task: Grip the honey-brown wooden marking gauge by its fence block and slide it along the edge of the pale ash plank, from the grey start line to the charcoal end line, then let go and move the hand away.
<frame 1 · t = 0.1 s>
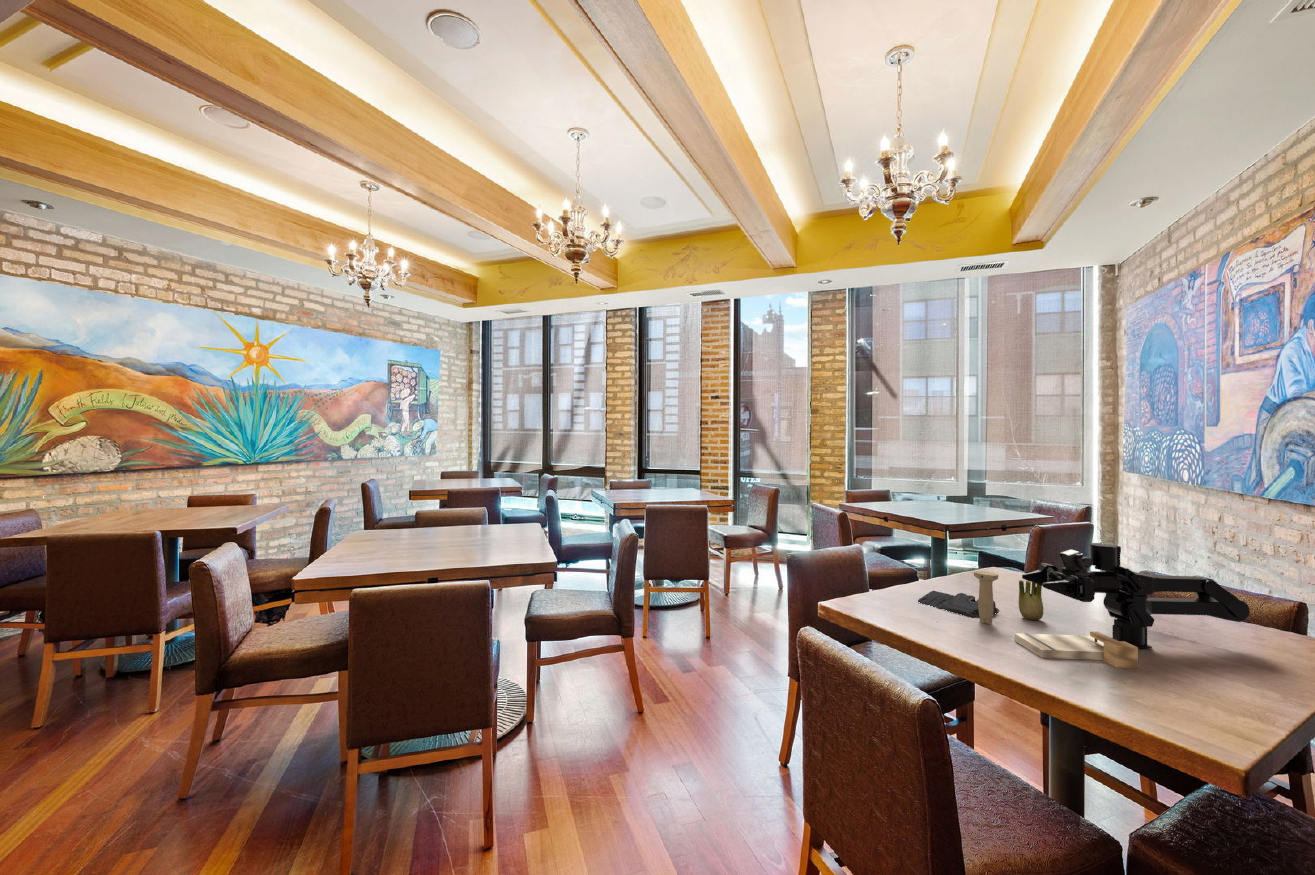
hand: (1032, 580, 149), 17 cm above the table, tool horizontal, fingers open, 9 cm apart
fennel bulb: (1031, 619, 168), on the table
handle: (985, 623, 164), on the table
dark slate chunk: (957, 609, 181), on the table
marking gauge: (1120, 664, 134), on the table
ash plank: (1067, 650, 143), on the table
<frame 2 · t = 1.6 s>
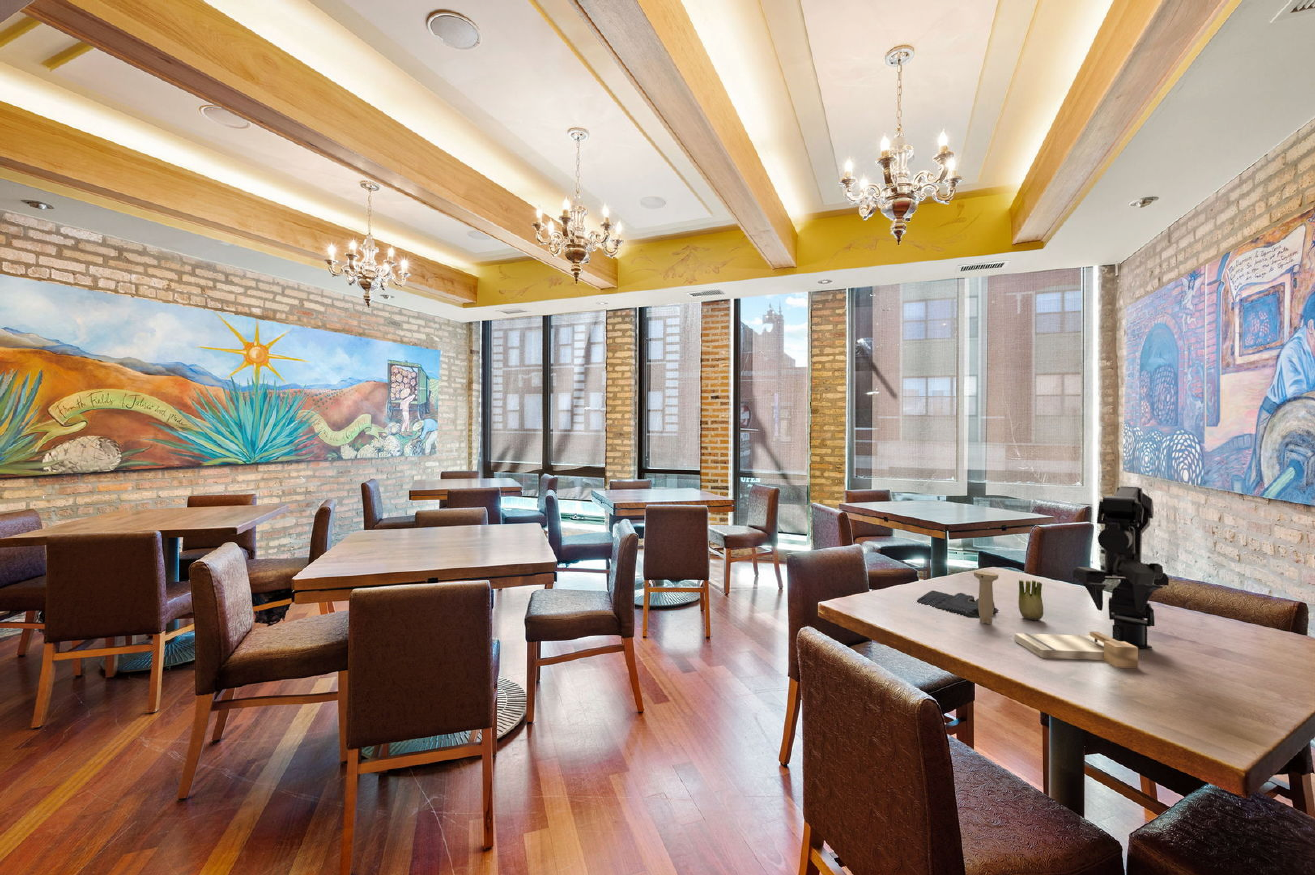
hand: (1119, 611, 134), 13 cm above the table, tool pointing down, fingers open, 9 cm apart
nothing on the table moved.
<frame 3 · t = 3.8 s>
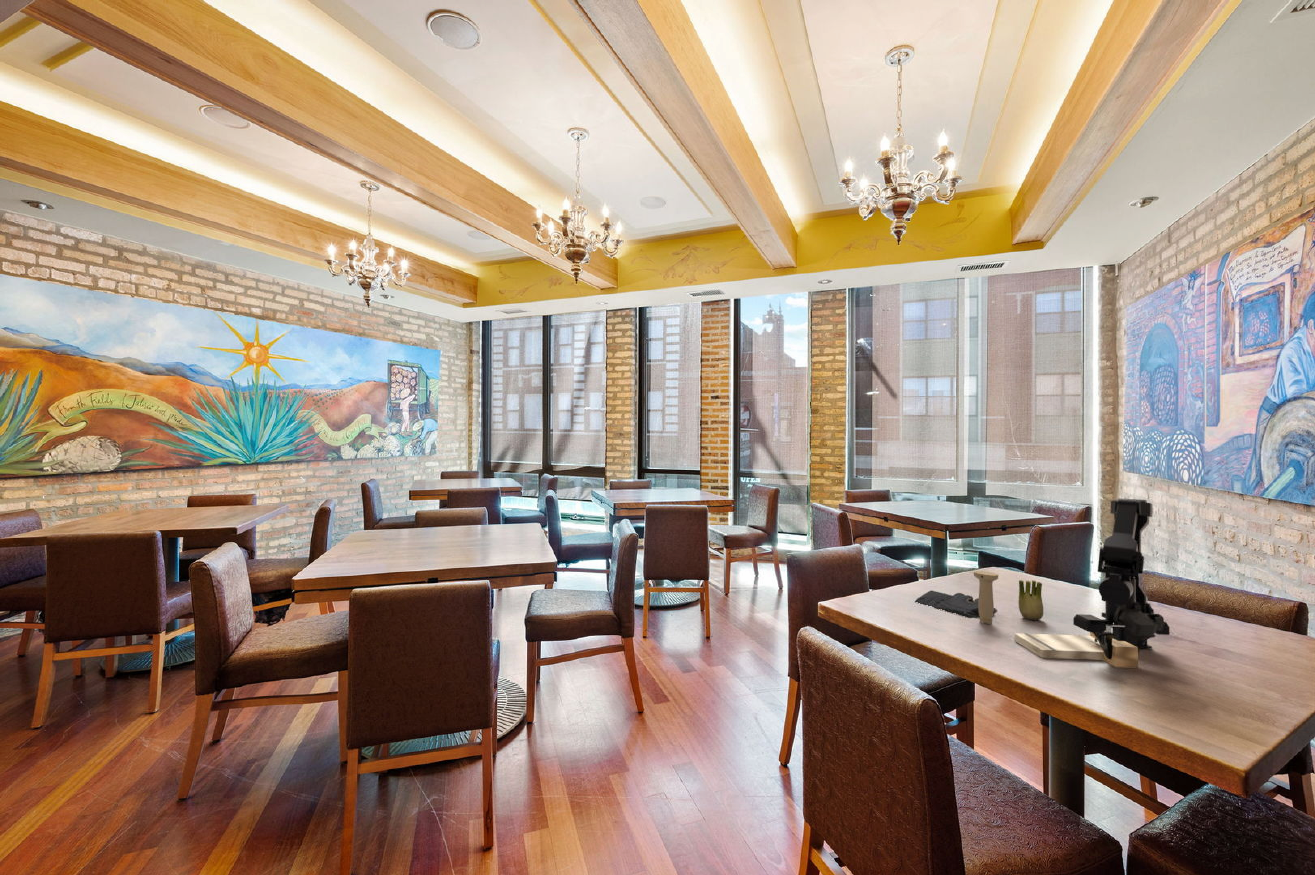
hand: (1120, 659, 134), 1 cm above the table, tool pointing down, fingers closed on marking gauge, 5 cm apart
marking gauge: (1120, 664, 134), on the table, touching gripper
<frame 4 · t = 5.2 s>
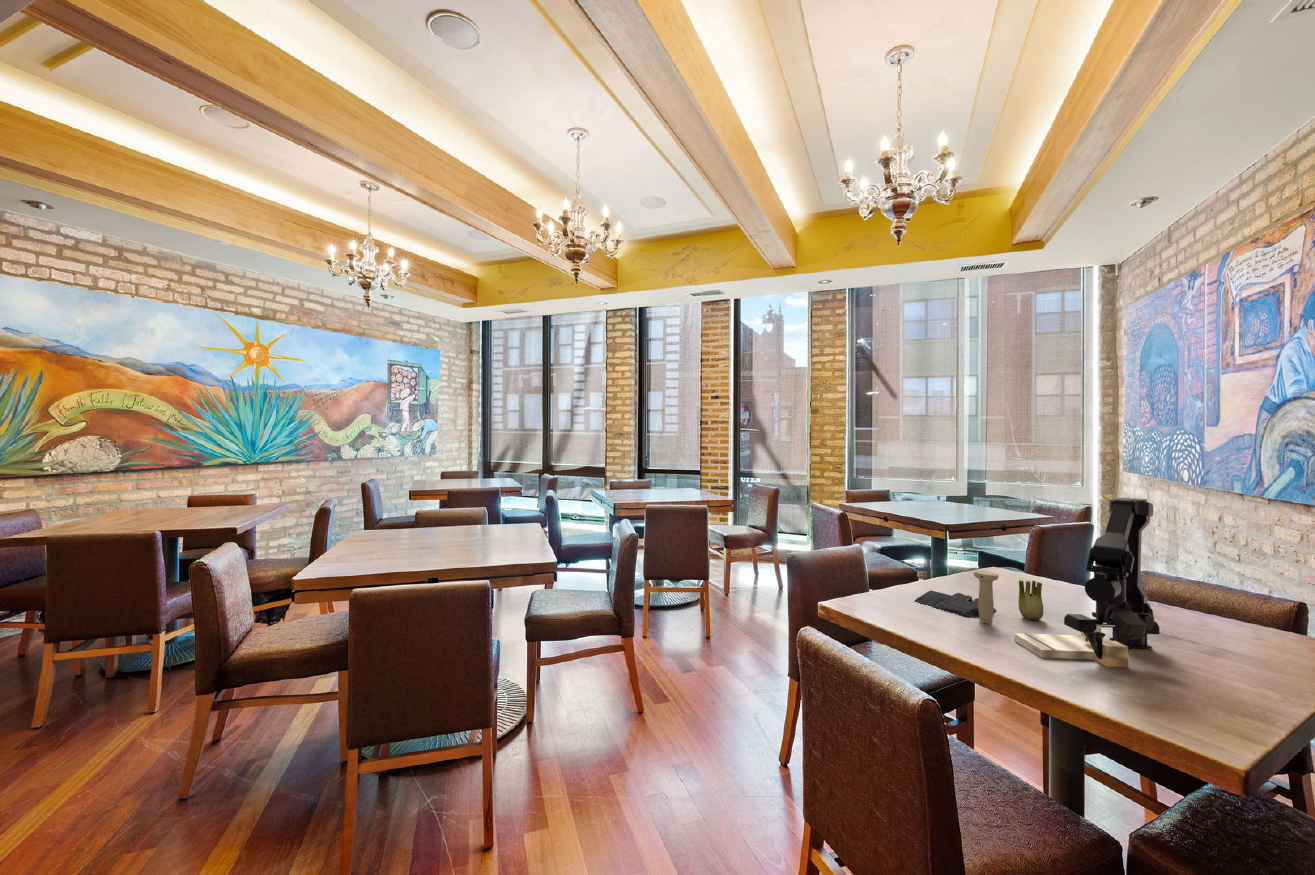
hand: (1110, 658, 134), 1 cm above the table, tool pointing down, fingers closed on marking gauge, 5 cm apart
marking gauge: (1110, 663, 134), on the table, touching gripper
everything else where it was.
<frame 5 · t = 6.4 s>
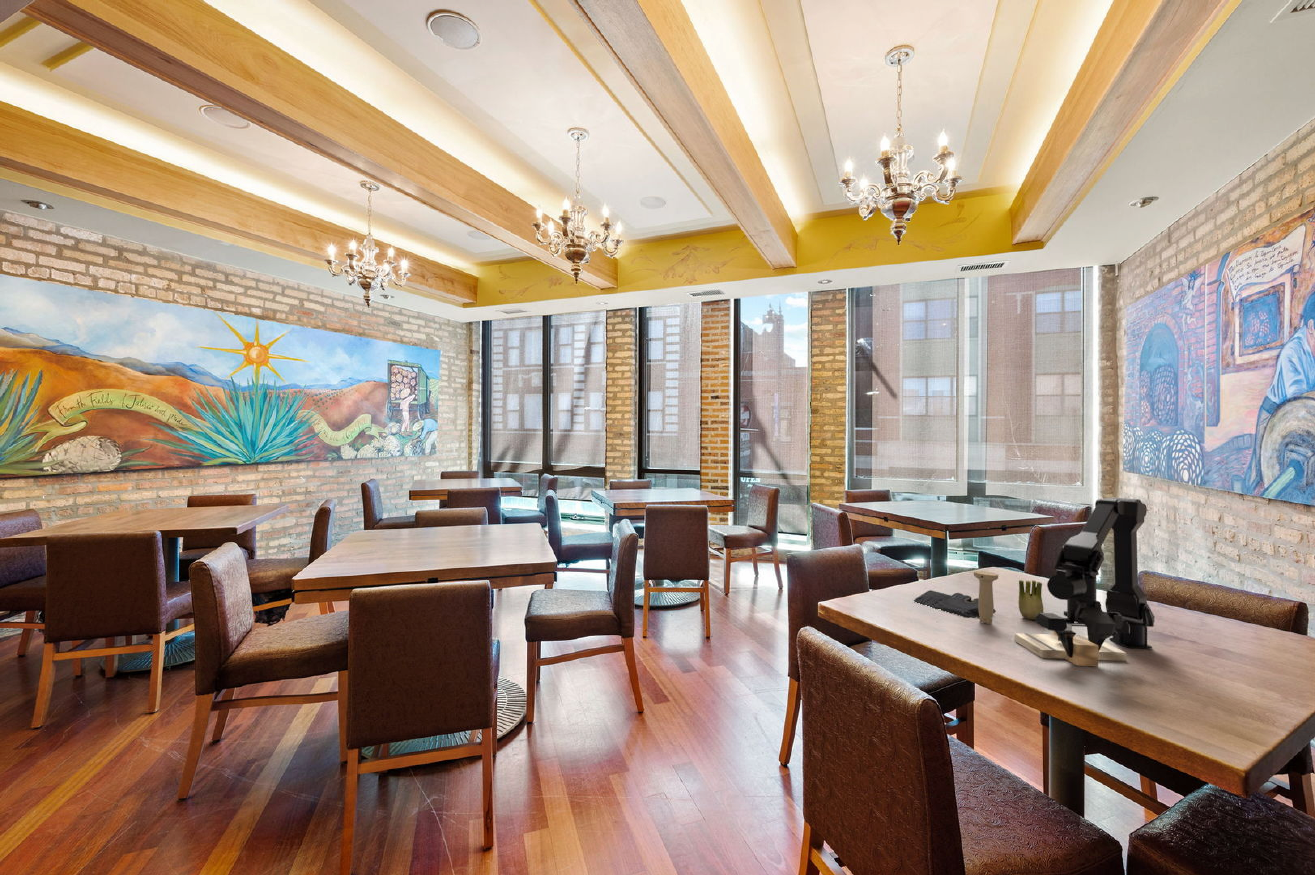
hand: (1081, 657, 134), 1 cm above the table, tool pointing down, fingers closed on marking gauge, 5 cm apart
marking gauge: (1081, 662, 134), on the table, touching gripper
when the fingers open (1 cm above the table, at t = 8.8 s): marking gauge stays where it is, on the table.
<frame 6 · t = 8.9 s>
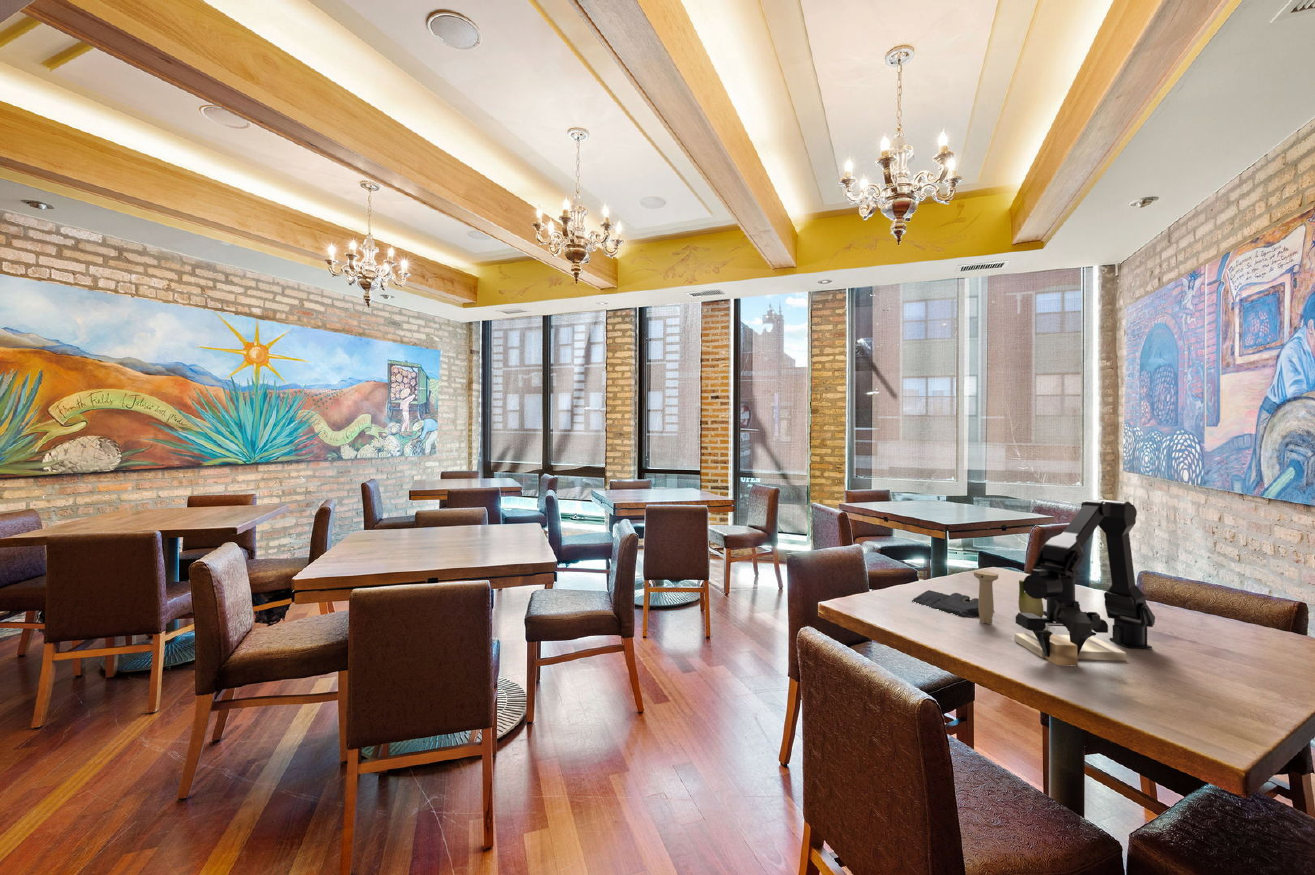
hand: (1060, 657, 135), 1 cm above the table, tool pointing down, fingers open, 6 cm apart
marking gauge: (1061, 662, 135), on the table
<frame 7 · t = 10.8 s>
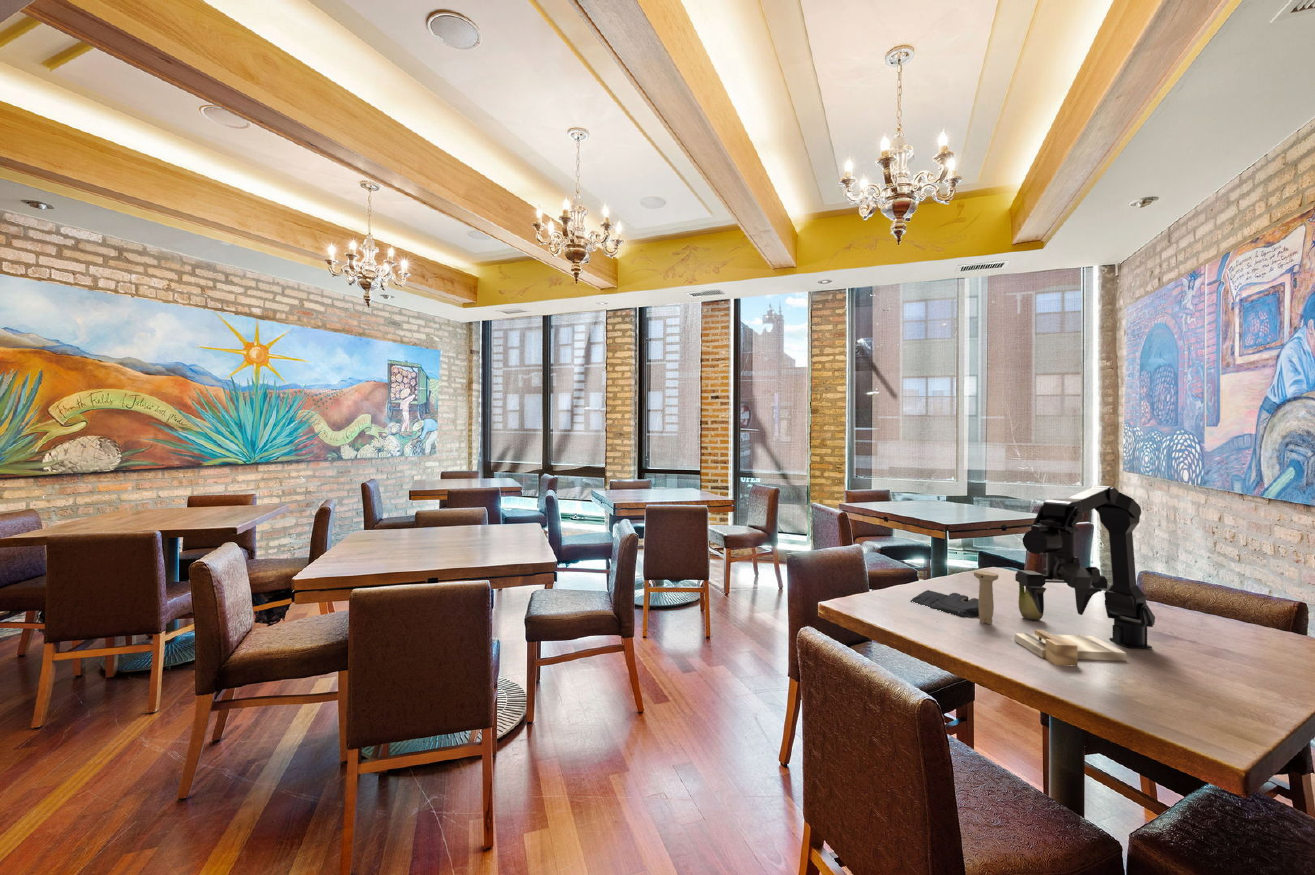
hand: (1060, 613, 135), 12 cm above the table, tool pointing down, fingers open, 9 cm apart
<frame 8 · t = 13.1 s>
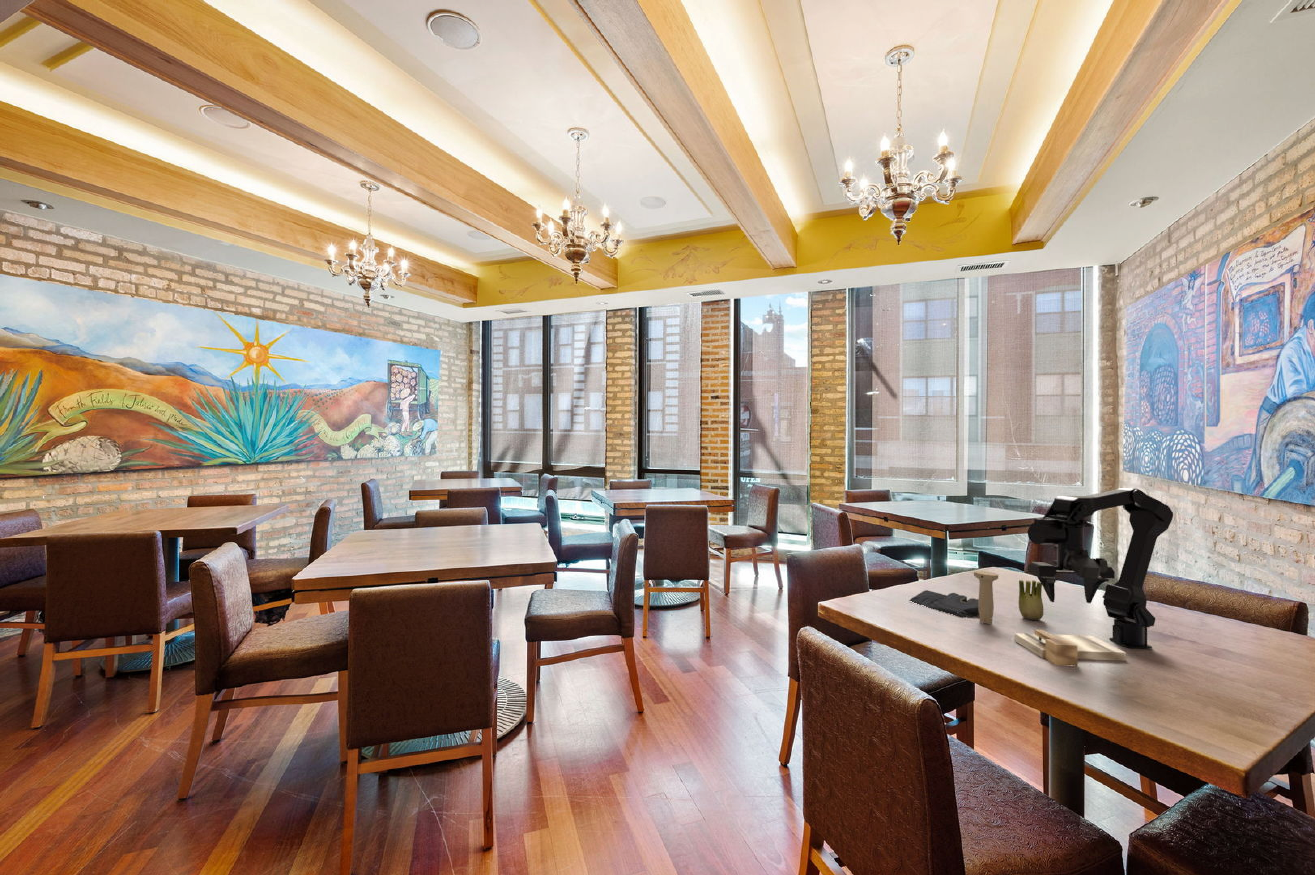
hand: (1070, 602, 145), 12 cm above the table, tool pointing down, fingers open, 9 cm apart
at the end: marking gauge 0.3 cm from the target spot, on the table; marking gauge tilted 0°; the gripper is holding nothing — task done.
